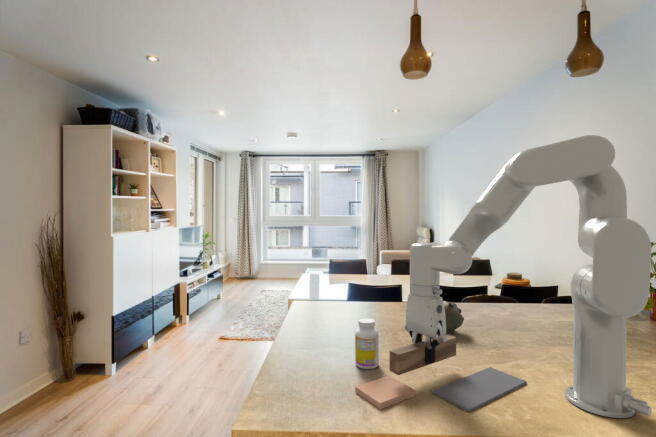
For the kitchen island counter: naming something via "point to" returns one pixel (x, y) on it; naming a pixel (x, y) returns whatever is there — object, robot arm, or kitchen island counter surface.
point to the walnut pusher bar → (419, 355)
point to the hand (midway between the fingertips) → (424, 359)
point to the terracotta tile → (385, 391)
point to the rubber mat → (479, 388)
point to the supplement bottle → (366, 344)
